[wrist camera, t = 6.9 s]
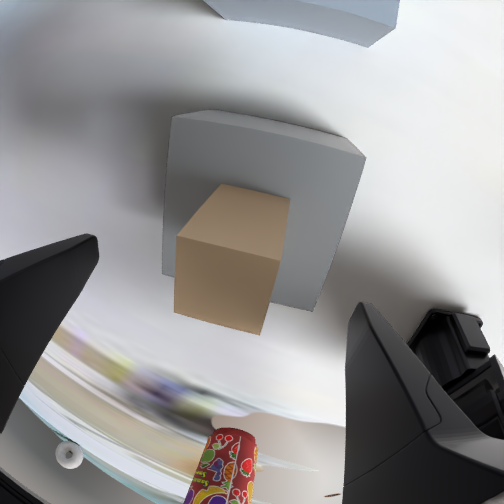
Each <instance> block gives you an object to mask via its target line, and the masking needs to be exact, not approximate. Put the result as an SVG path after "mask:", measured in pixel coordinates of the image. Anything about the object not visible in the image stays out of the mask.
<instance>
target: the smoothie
mask: <svg viewBox="0 0 504 504" xmlns="http://www.w3.org/2000/svg"><path fill="white" fill-rule="evenodd" d="M257 451H258V447H257V445H256V444H255V438H254V437H253V436H252V435H251V434H249V433H247V432H245V431H243V430H239V429H235V428H220V429H217V430H215V432H214V434H213V435H211V436H209V438H208V441H207V444H206V446H205V449H204V451H203V454H202V457H201V459H200V462H199V465H198V467H197V470H196V472H195V475H194V478H193V480H192V483H191V485H190V488H189V491H188V493H187V496H186V498H185V501H184V503H183V504H251V501H252V493H253V485H254V476H255V468H256V460H257Z"/></svg>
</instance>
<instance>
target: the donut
mask: <svg viewBox="0 0 504 504" xmlns="http://www.w3.org/2000/svg"><path fill="white" fill-rule="evenodd" d="M68 451H72V452H73V456H72V457H71V458H70V459H67V458H66V457H65V455H66V452H68ZM56 458H57V461H58V462H59V463H60V464H61V465H62V466H63V467H65V468H69V469H73V468H77V467H78V466H79V465H80V464H81V462H82V460H83V452H82V449H81V448H80V447H79V445H77V444H76V443H74V442H71V441H65V442H62V443H60V444H59V445H58V447H57V449H56Z"/></svg>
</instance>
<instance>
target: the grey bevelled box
mask: <svg viewBox="0 0 504 504" xmlns="http://www.w3.org/2000/svg"><path fill="white" fill-rule="evenodd" d="M365 161H366V157H365V156H364V155H363V154H362V153H361V152H360V151H359V150H358V149H357V148H356V147H355V146H354V145H353V144H352V143H351V142H350V141H349V140H348V139H346V138H343V137H340V136H336V135H332V134H329V133H325V132H321V131H318V130H314V129H310V128H306V127H302V126H297V125H293V124H289V123H284V122H280V121H275V120H270V119H265V118H260V117H255V116H249V115H244V114H238V113H232V112H226V111H219V110H212V109H208V110H202V111H197V112H192V113H186V114H181V115H177V116H172V120H171V128H170V137H169V147H168V158H167V169H166V182H165V197H164V216H163V244H162V274H164V275H168V276H171V277H175V285H174V313H178V314H181V315H185V316H188V317H191V318H195V319H199V320H202V321H206V322H209V323H213V324H217V325H221V326H224V327H228V328H232V329H236V330H240V331H244V332H248V333H252V334H256V335H260V333H261V330H262V326H263V323H264V319H265V316H266V313H267V309H268V306H269V302H272V303H276V304H281V305H285V306H289V307H294V308H298V309H303V310H307V311H311V312H313V309H314V307H315V304H316V302H317V299H318V297H319V294H320V292H321V289H322V287H323V284H324V282H325V279H326V276H327V274H328V271H329V269H330V266H331V263H332V260H333V258H334V255H335V252H336V249H337V247H338V244H339V241H340V238H341V235H342V233H343V230H344V227H345V224H346V221H347V218H348V215H349V212H350V209H351V206H352V203H353V200H354V197H355V193H356V190H357V187H358V184H359V181H360V177H361V174H362V171H363V167H364V164H365Z"/></svg>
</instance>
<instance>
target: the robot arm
mask: <svg viewBox="0 0 504 504" xmlns="http://www.w3.org/2000/svg"><path fill="white" fill-rule="evenodd" d="M98 260H99V250H98V240H97V237H96V236H94V235H91V234H82V235H79V236H76V237H72V238H69V239H66V240H62V241H59V242H56V243H52V244H49V245H46V246H43V247H40V248H37V249H33V250H30V251H27V252H24V253H21V254H18V255H15V256H12V257H9V258H6V259H5V260H4V259H3V260H1V261H0V433H2V432H3V430H4V428H5V425H6V423H7V421H8V419H9V416H10V414H11V412H12V410H13V408H14V406H15V404H16V402H17V400H18V398H19V396H20V394H21V392H22V390H23V388H24V385H25V384H26V382H27V380H28V378H29V376H30V375H31V373H32V371H33V369H34V367H35V365H36V364H37V362H38V360H39V358H40V357H41V355H42V353H43V351H44V350H45V348H46V346H47V345H48V343H49V341H50V340H51V338H52V336H53V335H54V333H55V332H56V330H57V328H58V327H59V325H60V324H61V322H62V321H63V319H64V317H65V316H66V314H67V313H68V311H69V310H70V308H71V307H72V305H73V304H74V302H75V301H76V299H77V298H78V296H79V295H80V293H81V291H82V289H83V288H84V286H85V284H86V282H87V280H88V279H89V277H90V275H91V273H92V272H93V270H94V268H95V266H96V265H97V263H98ZM434 314H435V315H434ZM482 325H483V322H482V320H481V319H480V318H476V317H474V316H470V315H465V314H461V313H456V312H454V313H452V312H448V311H443V310H439V309H432V310H430V311H429V312H428V314H427V315H426V317H425V318H424V320H423V321H422V323H421V325H420V326H419V328H418V329H417V331H416V332H415V334H414V335H413V337H412V338H411V340H410V341H409V342H408V344H406V343H405V342H404V341H403V340H402V338H401V337H400V336H399V335H398V334H397V333H396V331H395V330H394V329H393V328H392V327H391V325H390V324H389V323H388V322H387V321H386V320H385V319H384V317H383V316H382V315H381V314H380V313H379V312H378V310H377V309H376V308H375V307H374V306H373V305H372V304H371V303H366V302H359V303H358V304H357V306H356V308H355V310H354V312H353V314H352V316H351V318H350V320H349V323H348V334H347V349H346V362H345V381H346V447H345V471H344V472H345V473H344V487H343V500H342V504H504V367H503V366H502V364H501V363H500V361H499V360H498V358H497V357H496V355H495V354H494V355H493V356H492V357H491V358H489V356H488V353H489V352H490V347H489V345H488V343H487V341H486V339H485V337H484V335H483V333H482V331H481V329H480V328H481V327H482ZM0 504H50V503H48V502H47V501H45V500H44V499H42V498H41V497H39V496H38V495H36V494H35V493H33V492H32V491H31V490H29V489H28V488H27V487H25V486H24V485H22V484H21V483H20V482H18V481H17V480H16V479H14V478H13V477H12V476H11V475H9V474H8V473H7V472H6V471H4V470H3V469H2V468H1V467H0Z"/></svg>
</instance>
